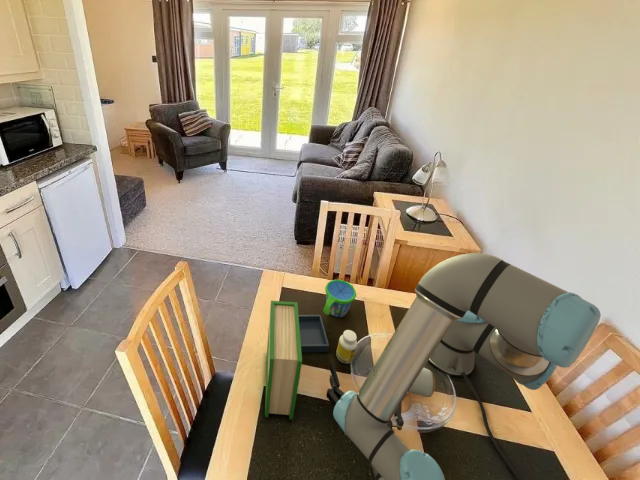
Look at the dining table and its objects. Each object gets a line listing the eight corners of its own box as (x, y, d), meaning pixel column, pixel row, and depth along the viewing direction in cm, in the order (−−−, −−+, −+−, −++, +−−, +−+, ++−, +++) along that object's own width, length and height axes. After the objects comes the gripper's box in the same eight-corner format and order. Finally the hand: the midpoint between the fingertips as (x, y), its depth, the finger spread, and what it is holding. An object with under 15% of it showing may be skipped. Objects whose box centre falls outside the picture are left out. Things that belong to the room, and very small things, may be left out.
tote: (328, 352, 101) (329, 345, 100) (290, 352, 101) (291, 346, 99) (319, 320, 112) (320, 314, 111) (285, 321, 111) (286, 315, 110)
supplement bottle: (350, 367, 97) (356, 346, 92) (333, 358, 99) (338, 337, 95) (355, 354, 101) (361, 333, 96) (339, 345, 103) (344, 325, 99)
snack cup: (333, 330, 109) (338, 309, 104) (311, 310, 116) (314, 290, 111) (361, 309, 117) (366, 289, 112) (339, 292, 124) (343, 272, 120)
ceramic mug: (430, 404, 88) (438, 387, 84) (399, 396, 90) (406, 378, 86) (422, 369, 97) (429, 353, 94) (394, 362, 99) (400, 346, 95)
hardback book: (292, 419, 83) (302, 361, 72) (264, 417, 83) (270, 359, 72) (290, 357, 99) (297, 302, 88) (266, 356, 99) (271, 300, 88)
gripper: (328, 461, 73) (310, 373, 92) (431, 458, 75) (393, 372, 94) (333, 445, 70) (313, 357, 89) (441, 441, 71) (399, 355, 90)
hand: (354, 364), depth 91 cm, fingers open, 13 cm apart
